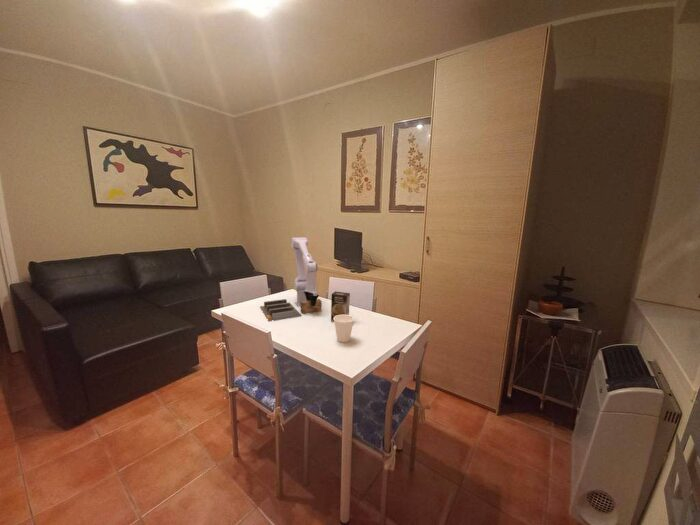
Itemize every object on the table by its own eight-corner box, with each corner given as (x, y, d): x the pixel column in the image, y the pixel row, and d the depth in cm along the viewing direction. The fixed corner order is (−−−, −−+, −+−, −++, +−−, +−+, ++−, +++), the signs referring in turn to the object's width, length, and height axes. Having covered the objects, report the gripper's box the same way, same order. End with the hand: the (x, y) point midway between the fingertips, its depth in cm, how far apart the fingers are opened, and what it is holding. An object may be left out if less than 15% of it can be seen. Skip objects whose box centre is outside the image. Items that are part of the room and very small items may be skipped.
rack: (289, 303, 184) (289, 298, 183) (301, 316, 162) (301, 310, 162) (259, 307, 175) (259, 302, 174) (268, 321, 153) (268, 315, 153)
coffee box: (330, 321, 155) (330, 293, 152) (334, 317, 161) (334, 290, 159) (346, 323, 153) (346, 295, 150) (349, 319, 159) (350, 292, 156)
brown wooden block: (319, 309, 174) (319, 298, 173) (321, 311, 171) (321, 300, 169) (300, 312, 169) (300, 301, 168) (302, 314, 165) (302, 303, 164)
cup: (342, 333, 141) (342, 312, 139) (357, 339, 135) (358, 318, 133) (328, 340, 133) (329, 318, 131) (344, 346, 127) (345, 324, 125)
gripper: (300, 280, 171) (300, 301, 173) (308, 286, 158) (308, 308, 161) (311, 279, 174) (311, 300, 176) (320, 284, 162) (320, 307, 164)
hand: (311, 304), depth 169 cm, fingers open, 7 cm apart
